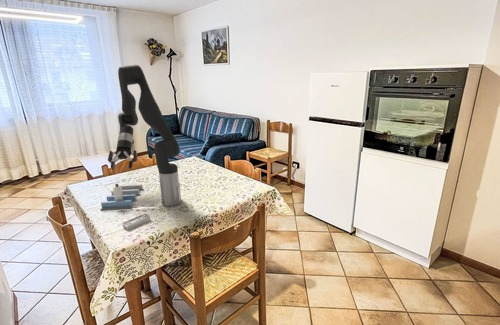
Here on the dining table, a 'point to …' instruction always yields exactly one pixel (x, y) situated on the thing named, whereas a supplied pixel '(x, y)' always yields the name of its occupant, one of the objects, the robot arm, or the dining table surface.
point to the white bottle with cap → (118, 192)
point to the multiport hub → (136, 221)
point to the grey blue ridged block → (128, 198)
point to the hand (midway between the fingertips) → (121, 168)
